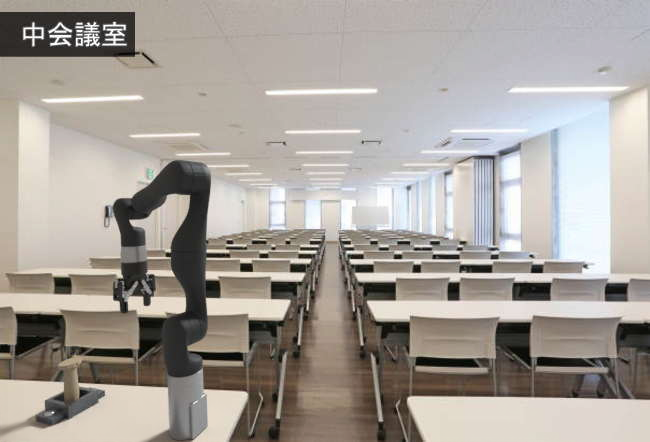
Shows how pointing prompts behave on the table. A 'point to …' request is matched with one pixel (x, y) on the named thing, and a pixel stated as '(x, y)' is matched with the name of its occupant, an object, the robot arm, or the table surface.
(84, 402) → the bracket
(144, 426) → the table surface
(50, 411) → the chain end
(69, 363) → the handle
